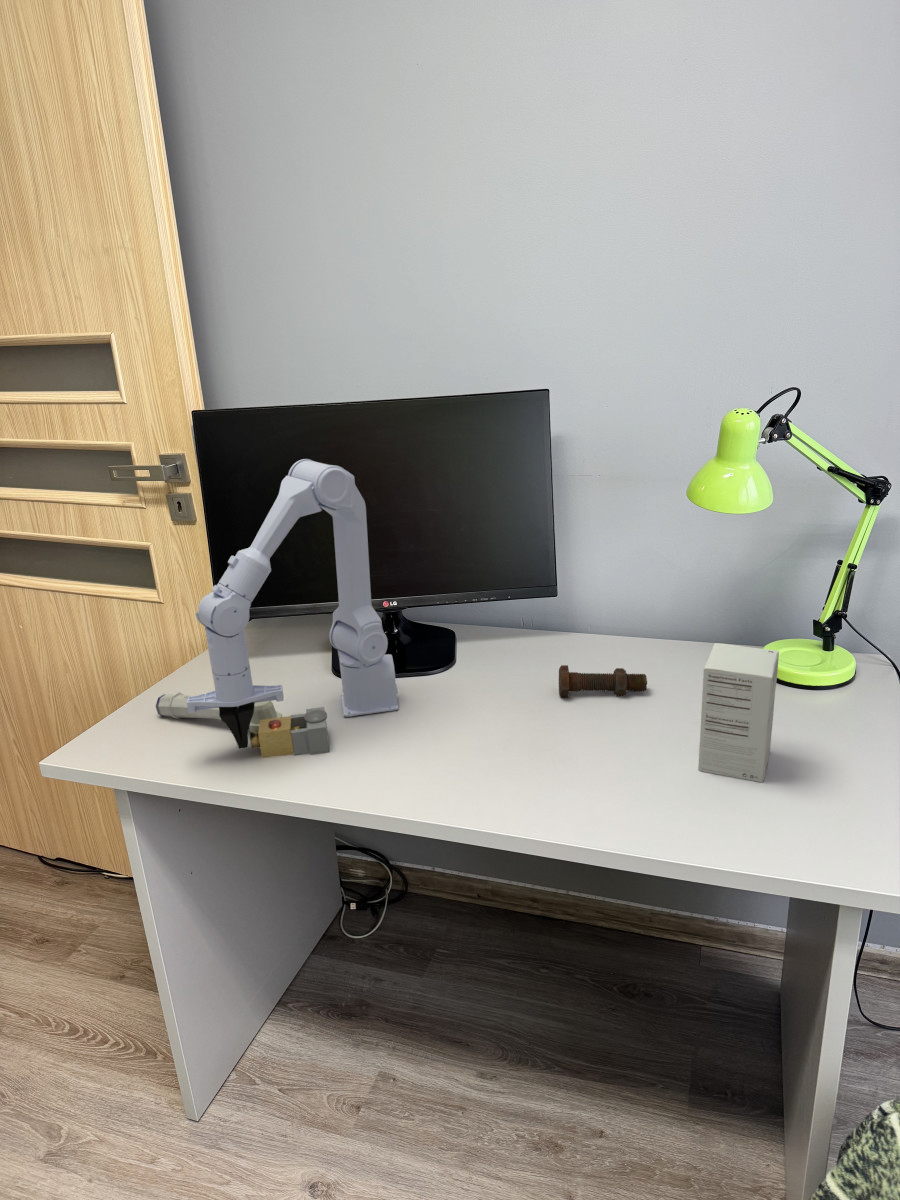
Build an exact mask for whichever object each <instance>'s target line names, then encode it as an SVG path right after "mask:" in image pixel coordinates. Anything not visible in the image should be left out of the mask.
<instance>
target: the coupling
mask: <svg viewBox="0 0 900 1200" xmlns="http://www.w3.org/2000/svg"><path fill="white" fill-rule="evenodd" d="M290 716H291V719H292V726H301V727H302V729H295V730H291V735H292V742H293V749H294V754H293V755H294V756H297V755H306V754H309V755H310V756H311V755H317V754H325V753H330V747H329V745H330V744H329V735H328V727H327V726H328V725H327V718H328V714H327V712H326V710H325V706H320V707H312V708H306V709H305V713H298V714H292V715H290Z"/></svg>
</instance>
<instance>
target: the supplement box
mask: <svg viewBox="0 0 900 1200" xmlns="http://www.w3.org/2000/svg"><path fill="white" fill-rule="evenodd" d="M779 657H780V651H779V650H775V649H774V650H773V649H768V648H767V649H766V648H760V647H750V646H743V645H734V644H727V643H719V642H718V643H717V642H715V643H713V646H712V648H711V651H710V654H709V657H708V658H707V661H706V663H705V666H704V668H703V678H702V696H701V712H700V713H701V715H700V716H701V718H700V733H699V734H700V735H699V748H698V749H699V753H698V769H697V770H698V772H699V771H700V772H704V773H709V774H715V775H721V776H726V777H731V778H736V779H741V780H747V781H751V782H757V783H764V781H765V777H766V774H767V773H766V772H767V768H768V763H769V758H770V754H771V743H772V733H773V724H774V723H773V721H774V711H775V709H774V708H775V699H776V687H777V679H778V671H779V670H778V669H779Z"/></svg>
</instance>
